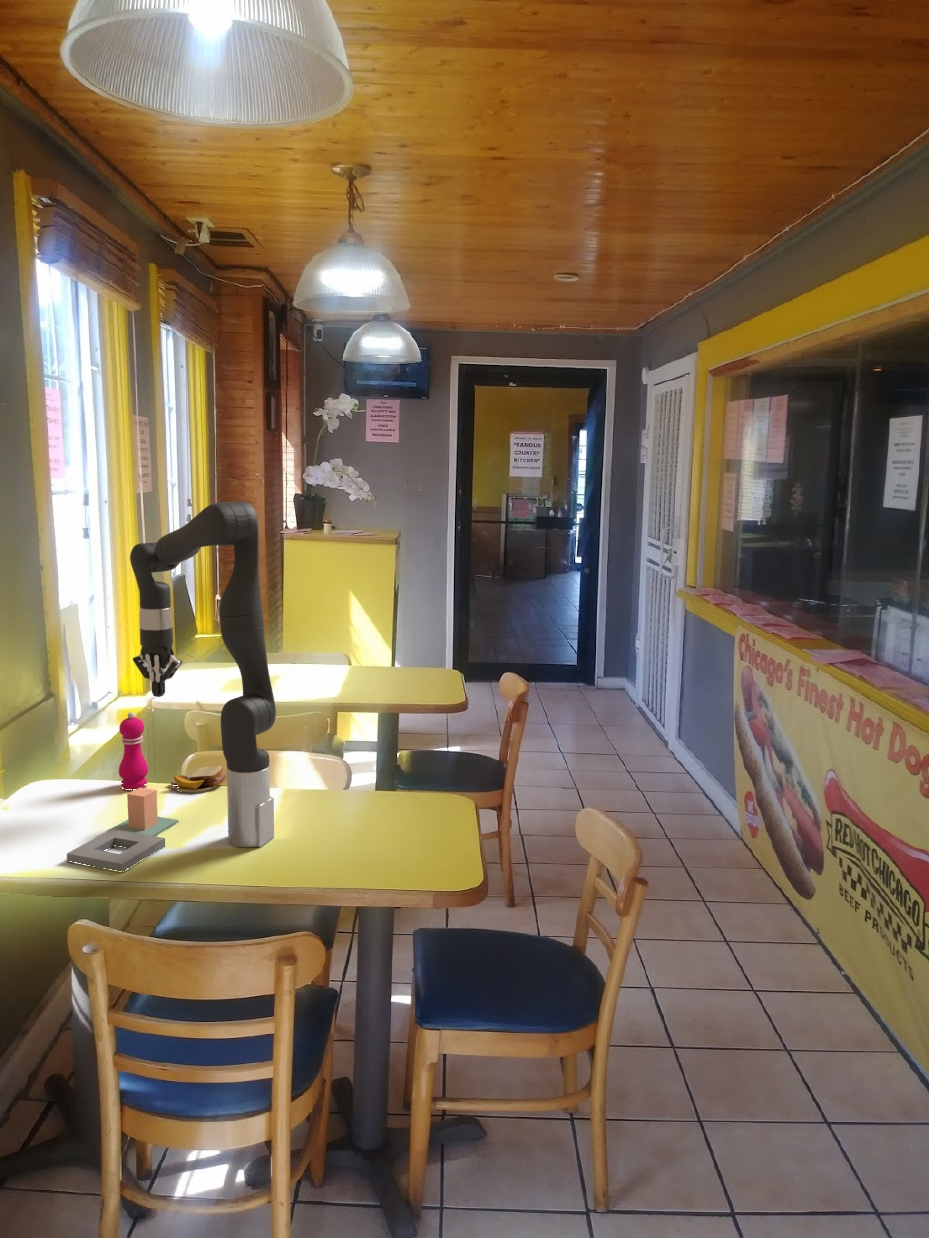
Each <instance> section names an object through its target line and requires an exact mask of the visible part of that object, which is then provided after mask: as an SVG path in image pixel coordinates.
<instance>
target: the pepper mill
mask: <svg viewBox="0 0 929 1238" xmlns="http://www.w3.org/2000/svg"><path fill="white" fill-rule="evenodd" d="M135 716H136V714H135V712H134V711H129V713H128V714H127V718H124V719H123V720H121V721H120V724H119V726H118V727H119V730H118V731H119V733H120V734H121V736H122V737H121V743H122V744H123V756H122V759H121V761H120V763H119V767H118V775H119V777H120V778H121V779H122V780H121V781H120V785H121V786H122V787H123V788H124V789H132V790H133V789H138V788H143V787H145V788H147V786H145V785H144V784H147V785H148V780H147V778H146V776H147V775H148V774H149V766H148V763H147V760H146V758H145V757H144V755H143V752H142V743H143V740H144V739H143V737H144V736H143V735H142V734H143V733H144V731H145V724H144V722H143V720H142V719H140V718H138V717H135ZM121 783H123V784H121ZM121 786H120V787H121Z"/></svg>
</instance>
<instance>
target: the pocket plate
mask: <svg viewBox="0 0 929 1238" xmlns="http://www.w3.org/2000/svg"><path fill="white" fill-rule="evenodd" d="M110 829H111V828H110ZM108 830H109V829H108ZM108 830H107V831H105V832H103V833H102V834H100V835H98V836H96V837H94V838H93V839H90V840H89V841H87V842H85V843H84V844H83V843H82V845H80V846H78V847H76V848H74V849H72V850H71V851H69V852H67V853H66V861H67V860H68V861H72V862H77V863H81V864H86V865H90V866H95V867H99V868H106V869H112V870H117V871H122V872H123V871H125V870H126V869H127V868H130V867H131V866H133V865H134V864H136V863H137V862H139V861H140V860H142V859H144V858H146V857H148V856H150V855H151V854H153V853H154V852H156V851H157V850H159V849H161V850H162V849H164V848H166V838H165V837H162V836H150V835H145V834H139V833H133V832H128V831H122V830H116V829H111V830H109V831H108ZM114 845H116V846H114ZM113 846H114V847H117V846H122V847H126V848H125V850H124V851H122V852H120V853H116V852H112V851H111V852H110V851H104V850H106V849H109V848H111V847H113ZM114 847H113V848H114ZM122 847H121V848H122ZM163 847H164V848H163ZM128 848H129V849H128ZM111 849H112V848H111ZM109 850H110V849H109ZM159 851H160V850H159ZM156 853H157V852H156ZM154 854H155V853H154ZM154 854H153V855H154ZM151 856H152V855H151ZM151 856H150V857H151ZM148 858H149V857H148ZM146 859H147V858H146ZM99 868H98V869H99ZM130 869H131V868H130Z"/></svg>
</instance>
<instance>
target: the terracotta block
mask: <svg viewBox="0 0 929 1238" xmlns="http://www.w3.org/2000/svg"><path fill="white" fill-rule="evenodd" d="M157 792H158V791H157V789H153V788H152V789H151V788H147V787H145V788H138V789H136V790H134V791H129V792H128V793H127V794H126V796H127V797H126V799H127V818H128V819H127V820H128V824H129V827H130V828H136V829H141V830H146V829H148V828H150V827H152V826H153V825H155V824H157V823H158V818H157V816H158V796H157V794H158V793H157Z"/></svg>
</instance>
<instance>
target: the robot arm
mask: <svg viewBox="0 0 929 1238" xmlns="http://www.w3.org/2000/svg"><path fill="white" fill-rule="evenodd" d="M259 528H260V527H259V521H258V516H257V512H256V510H255V508H254V506H252V504H251V503H250V502H247V501H227V502H225V501H224V502H223V501H222V502H221V501H220V502H215V503H211V504H209V505H208V506H206V507H204V508H203V509H201V511H200V512H198V513H197V514H196V516H194V517H193V518H192V519H190V520H189V521H188V522H187V523H186V524H185V525H183V526H181V527H180V528H178V529H175V530H173V531H171V532H169V533H167V534H165V535H164V536H162V537H161V538H159V539H158V540H157V541H156V542H144V543H143V542H142V543H137V544H135V545H134V546H133V547H132V549H131V551H130V554H129V561H130V565H131V568H132V571H133V574H134V577H135V581H136V584H137V587H138V591H139V592H138V593H139V615H138V619H139V623H138V624H139V644H140V646H141V648H140V653H139V654H138V655H137V656H134V657H132V662H133V663H134V664H135V666H136V667H137V669H138V670H139V672H140V673H141V675H142V676H143V678H144V679H148V680H149V681H150V682H151V684H150V685H151V693H152V694H153V695H152V696H153V697H156V698H161V697H163V696H164V695H165V693H166V681H167V680H169V679H172V678H173V676H174V675H175V673H176V672H177V671H178V670H179V668H180V667H181V665H182V664H183V661H182V659H178V658H176V657H175V654H174V651H173V644H174V627H173V626H174V625H173V613H172V606H171V605H172V603H171V602H172V601H171V587H170V585H169V584H168V582H163V581H156V580H155V579H154V576H153V574H152V573H161V572H162V573H163V572H168V571H172V570H175V569H176V568H177V567H178V566H179V565H180V563H182V562H184V561H185V562H186V561H187V560H189V559H192V558H193V557H194V556H195V555H197V554H198V553H199V551H200V550H201V548H203V547H211V546H218V547H219V546H220V547H227V546H228V547H229V546H233V551H234V552H233V556H234V557H233V558H234V559H233V568H232V572H231V575H230V578H229V580H228V582H227V584H226V587H225V588H224V591H223V593H222V596H221V599H220V601H219V606H218V615H219V626H220V633H221V634H220V635H221V640H222V642H223V644H224V646H225V647H226V649H227V651H228V653H229V654H230V655H231V657H232V658H233V660H234V662H235V663H236V665H237V667H238V668H239V673H240V677H241V684H242V695H241V696H238V697H234V698H232V699H230V700H228V701H227V702H226V703H225V704H224V705H223V706H222V709H221V713H220V735H221V745H222V746H221V747H222V753H223V756H224V759H225V761H226V787H227V789H226V790H227V791H226V792H227V794H226V795H227V834H228V840H227V841H228V843H229V844H230V845H232V846H234V847H238V848H239V847H240V848H253V847H257V848H262V846H264V845H266V844H267V843H268V842H269V841H271V840H272V839H273V838H275V804H274V801H275V800H274V797H273V796H271V795H270V794H271V792H270V790H271V789H270V788H271V786H270V785H271V783H270V781H271V779H270V778H271V777H270V770H271V769H270V754H269V752H268V751H266V750H265V749H263V748H258V745H257V735H260V734H263V733H265V732H267V731H269V730H270V729H271V728H273V726H274V724H275V722H276V715H277V709H276V702H275V696H274V692H273V686H272V683H271V677H270V671H269V665H268V655H267V646H266V639H265V624H264V622H265V621H264V613H263V605H262V597H261V583H260V582H261V581H260V567H259V564H260V563H259V562H260V560H259V557H260V555H259V554H260V553H259V551H260V545H259V543H260V537H259V535H260V534H259V533H260V530H259Z"/></svg>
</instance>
